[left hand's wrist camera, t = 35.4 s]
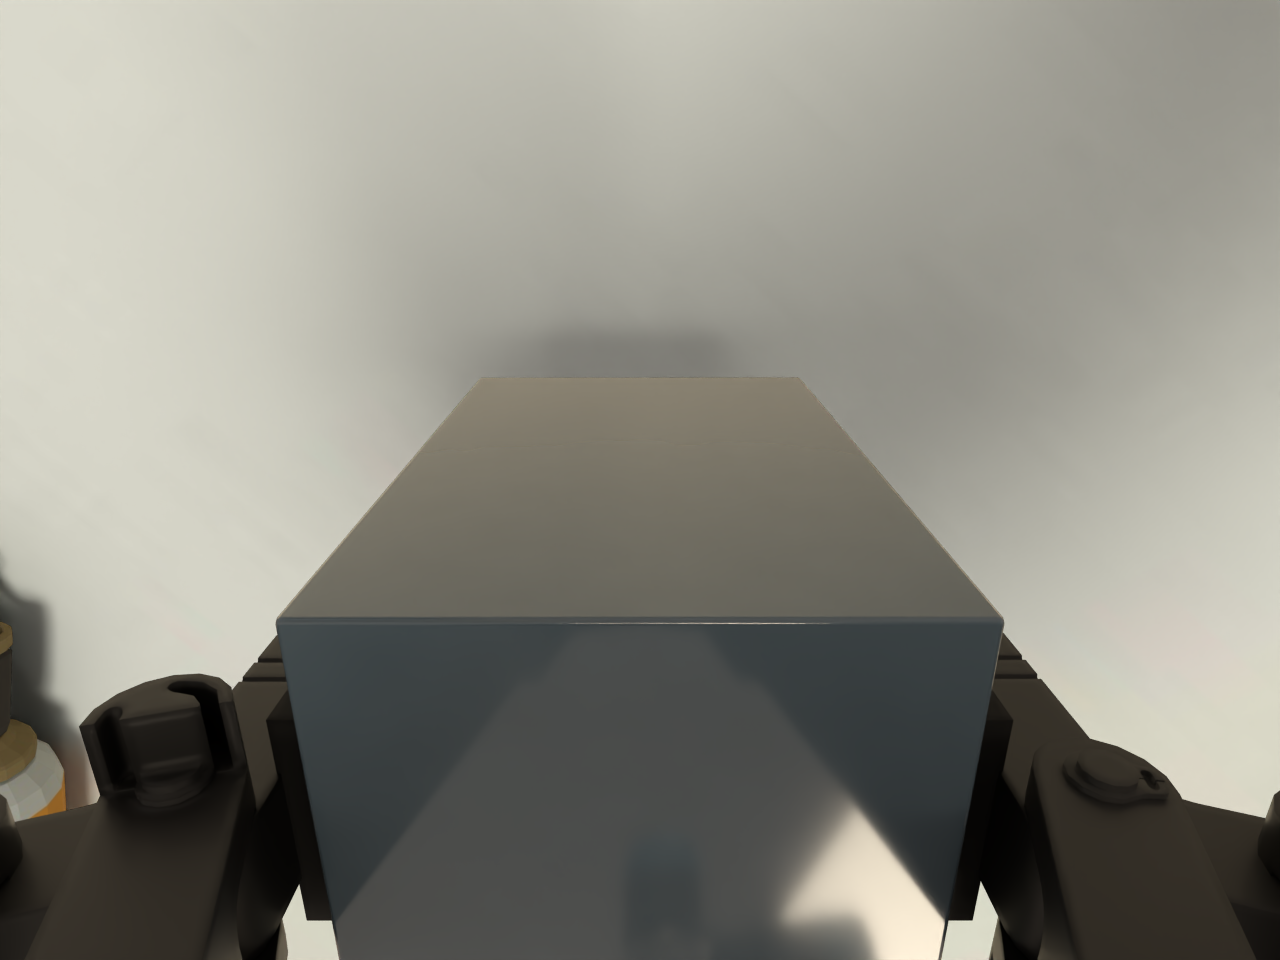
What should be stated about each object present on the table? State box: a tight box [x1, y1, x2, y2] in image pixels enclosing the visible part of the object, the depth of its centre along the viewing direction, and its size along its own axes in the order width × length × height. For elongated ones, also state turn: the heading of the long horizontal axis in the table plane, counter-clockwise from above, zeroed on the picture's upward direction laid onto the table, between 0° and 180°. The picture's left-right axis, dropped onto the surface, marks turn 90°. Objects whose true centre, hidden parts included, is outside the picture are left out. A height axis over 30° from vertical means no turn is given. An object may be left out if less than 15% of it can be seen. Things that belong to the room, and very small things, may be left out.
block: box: [276, 377, 1004, 960], centre depth 11 cm, size 6×6×9 cm
